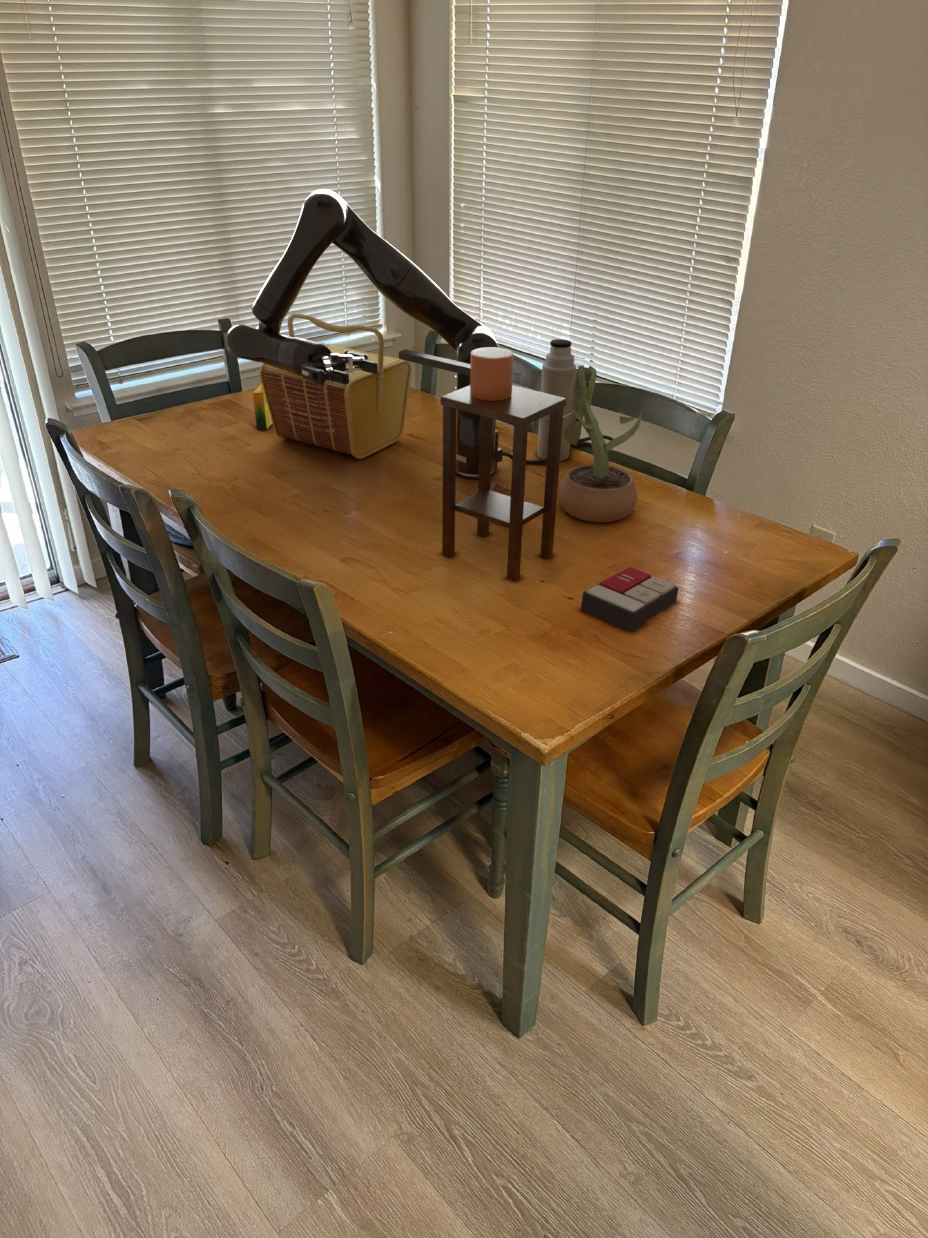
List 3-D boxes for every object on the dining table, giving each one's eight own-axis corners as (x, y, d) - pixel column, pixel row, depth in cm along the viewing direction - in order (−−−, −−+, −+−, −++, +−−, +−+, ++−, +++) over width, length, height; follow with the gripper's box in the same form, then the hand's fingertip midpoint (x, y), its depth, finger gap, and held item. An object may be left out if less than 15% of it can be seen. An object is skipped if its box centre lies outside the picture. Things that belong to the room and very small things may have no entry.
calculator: (680, 583, 168) (634, 610, 159) (676, 604, 171) (631, 632, 161) (629, 563, 175) (582, 588, 165) (626, 584, 177) (579, 609, 167)
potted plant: (653, 508, 205) (671, 372, 189) (604, 533, 194) (619, 391, 178) (572, 478, 218) (583, 350, 203) (522, 500, 207) (529, 366, 191)
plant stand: (439, 554, 185) (440, 396, 168) (481, 530, 194) (486, 378, 177) (514, 582, 175) (523, 418, 159) (554, 555, 185) (566, 398, 168)
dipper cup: (389, 376, 178) (388, 336, 174) (415, 367, 183) (414, 328, 179) (495, 403, 165) (497, 361, 161) (519, 393, 170) (521, 351, 166)
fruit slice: (480, 504, 205) (481, 482, 203) (505, 497, 209) (506, 476, 206) (503, 517, 200) (504, 496, 197) (528, 510, 203) (529, 489, 200)
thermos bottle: (570, 450, 234) (580, 337, 219) (567, 462, 227) (576, 346, 212) (539, 447, 235) (546, 335, 220) (534, 459, 228) (541, 344, 214)
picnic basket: (416, 437, 240) (415, 318, 224) (354, 469, 221) (348, 341, 205) (328, 415, 253) (321, 301, 237) (262, 443, 234) (250, 321, 219)
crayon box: (265, 419, 249) (260, 376, 243) (275, 420, 249) (271, 377, 243) (256, 429, 243) (251, 384, 237) (267, 429, 243) (262, 385, 237)
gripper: (277, 347, 188) (337, 363, 180) (326, 332, 198) (385, 346, 190) (281, 384, 192) (339, 401, 184) (329, 367, 202) (386, 382, 194)
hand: (362, 373), depth 187 cm, fingers open, 8 cm apart
